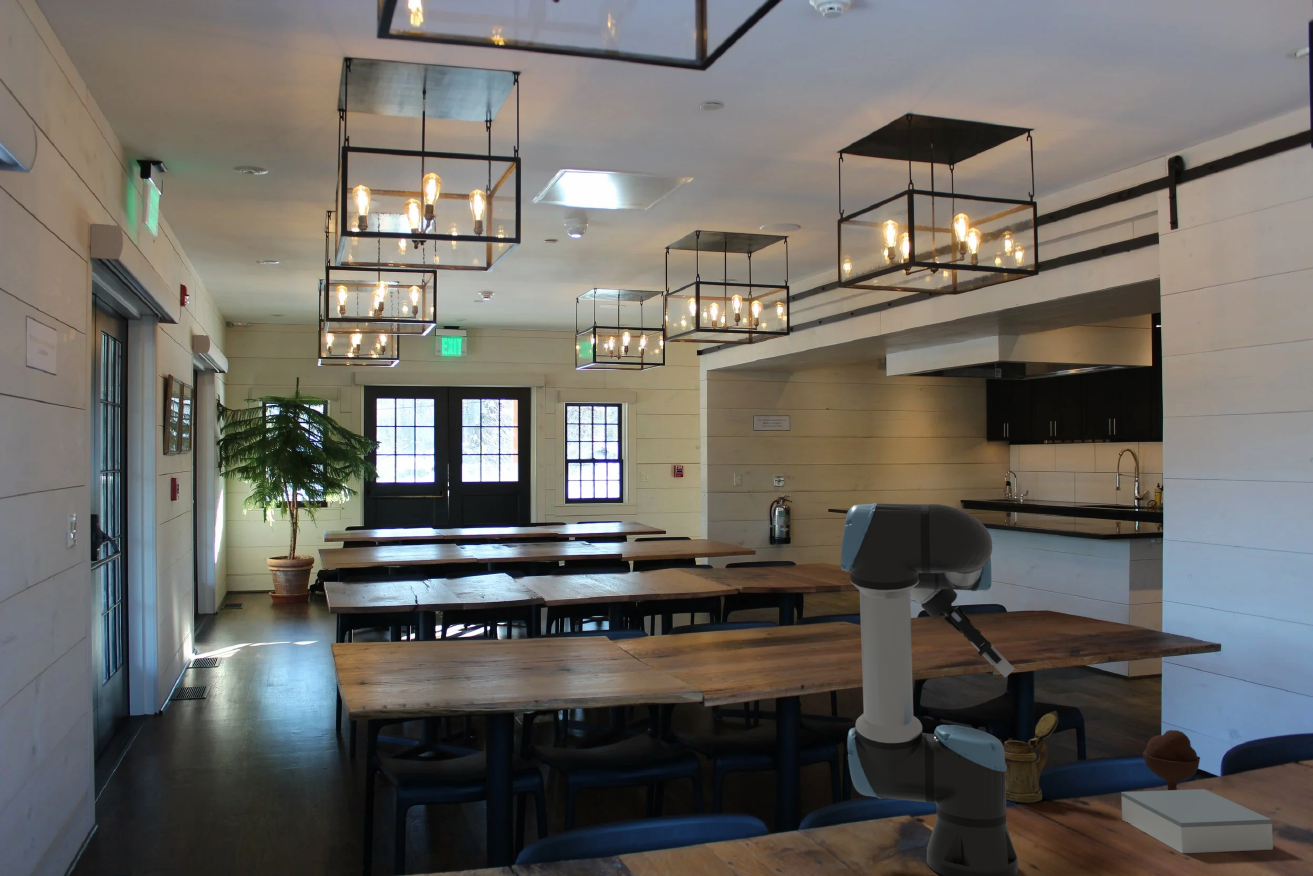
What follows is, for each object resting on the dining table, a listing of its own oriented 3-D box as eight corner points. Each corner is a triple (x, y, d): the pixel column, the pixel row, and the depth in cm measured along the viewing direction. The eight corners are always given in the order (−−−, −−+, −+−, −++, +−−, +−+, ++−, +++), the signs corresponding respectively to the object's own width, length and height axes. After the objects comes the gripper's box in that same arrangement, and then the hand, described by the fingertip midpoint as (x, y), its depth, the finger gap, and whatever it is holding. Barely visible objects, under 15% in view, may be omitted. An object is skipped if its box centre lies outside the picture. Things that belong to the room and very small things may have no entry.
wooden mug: (1070, 801, 200) (1068, 715, 201) (1009, 804, 198) (1008, 717, 199) (1048, 788, 209) (1046, 706, 210) (990, 790, 207) (988, 707, 208)
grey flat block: (1182, 853, 171) (1181, 823, 171) (1122, 819, 189) (1121, 792, 189) (1272, 849, 173) (1271, 819, 173) (1205, 816, 191) (1204, 789, 191)
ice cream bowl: (1202, 797, 203) (1200, 727, 204) (1200, 812, 193) (1197, 738, 194) (1147, 789, 208) (1145, 720, 209) (1142, 803, 199) (1140, 731, 200)
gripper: (954, 587, 193) (1029, 666, 190) (937, 576, 218) (1004, 645, 214) (926, 611, 194) (1001, 690, 190) (913, 598, 218) (979, 667, 215)
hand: (1003, 667), depth 202 cm, fingers open, 13 cm apart
